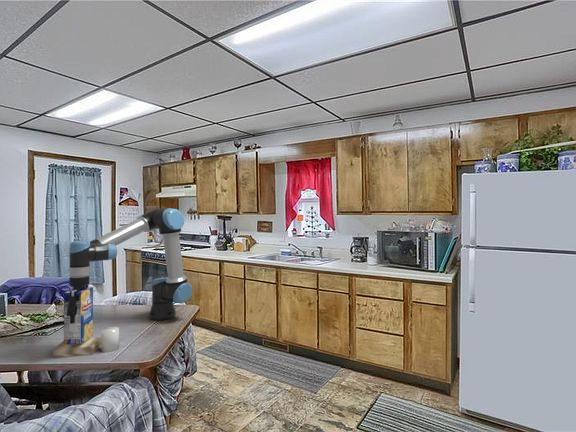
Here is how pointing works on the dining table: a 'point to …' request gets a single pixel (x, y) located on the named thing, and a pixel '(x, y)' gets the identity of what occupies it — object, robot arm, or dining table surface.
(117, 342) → the white rounded cylinder
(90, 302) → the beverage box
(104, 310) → the dining table surface
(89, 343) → the maple block
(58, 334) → the dining table surface
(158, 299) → the robot arm
